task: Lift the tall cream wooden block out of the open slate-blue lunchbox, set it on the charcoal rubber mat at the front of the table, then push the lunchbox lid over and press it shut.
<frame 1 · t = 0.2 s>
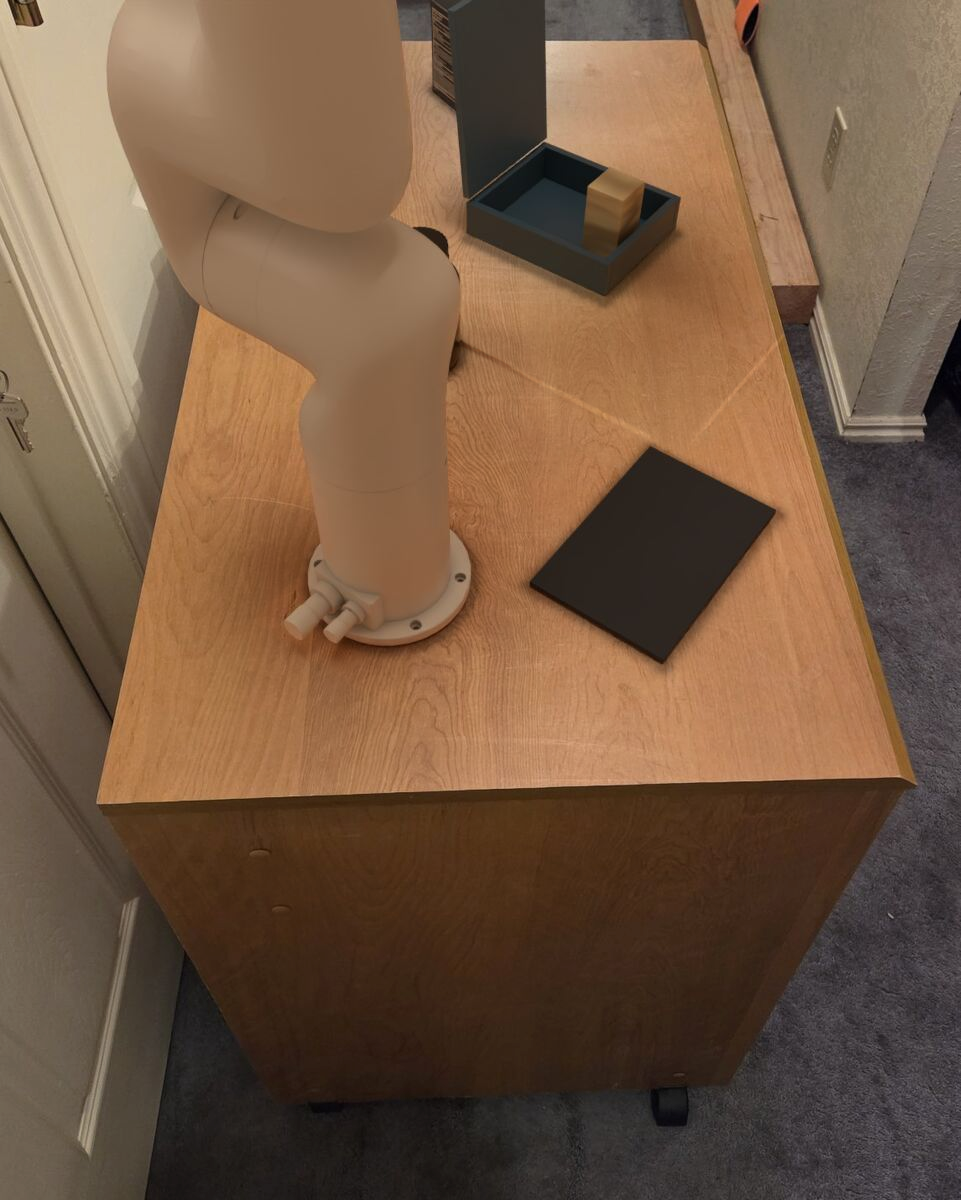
lunchbox lid: (502, 80, 99), point 13 cm above the table, hinge at 95.0°
lunchbox: (570, 237, 107), on the table
mat: (655, 549, 83), on the table
supplement bottle: (424, 356, 96), on the table
small box: (477, 103, 122), on the table
block: (608, 246, 105), point 1 cm above the table, touching lunchbox
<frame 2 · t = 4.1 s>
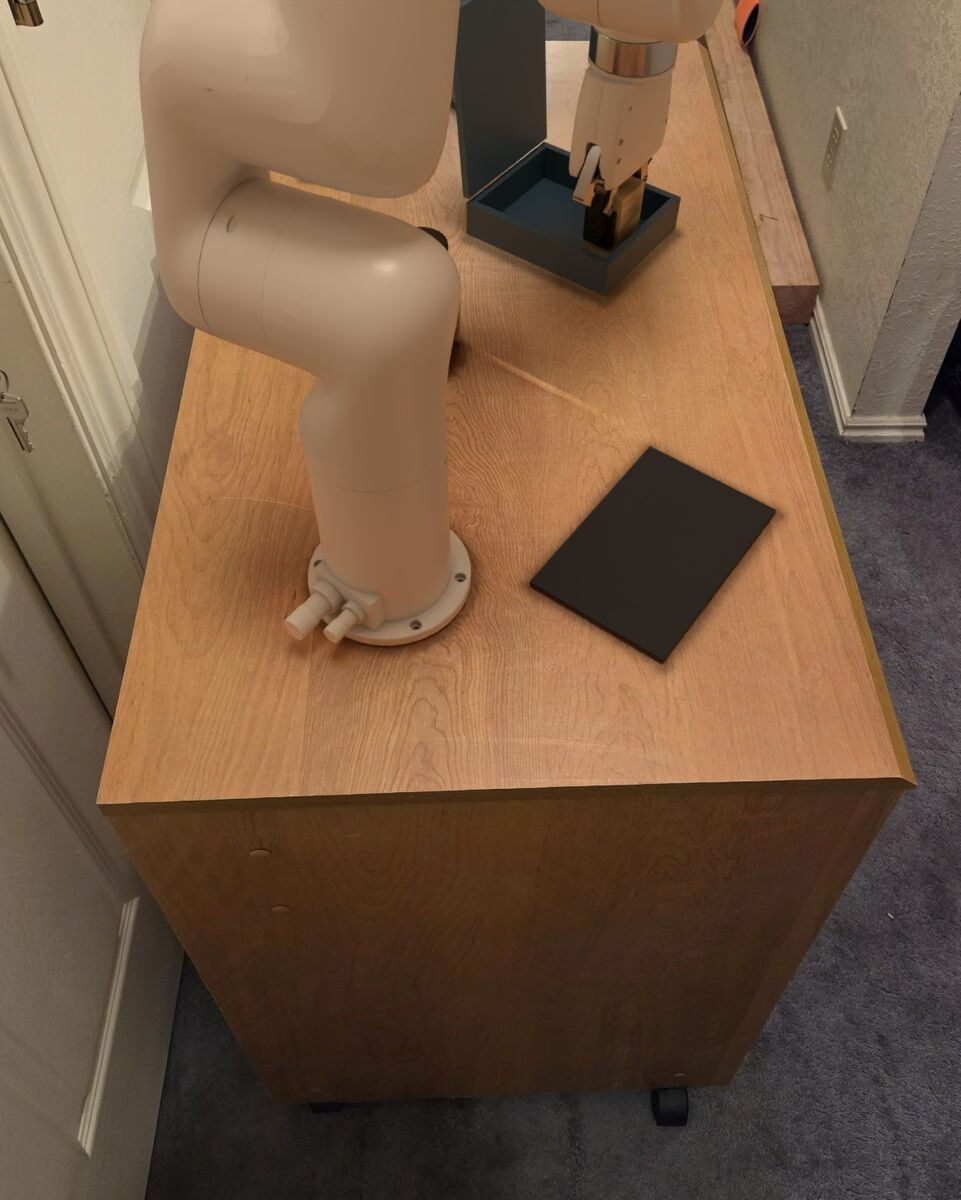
hand: (610, 230, 103), 3 cm above the table, tool pointing down, fingers closed on block, 4 cm apart
block: (608, 246, 105), point 1 cm above the table, touching gripper, lunchbox
everything else where it was.
when the fingers open (2 cm above the table, at t = 12.0 s): block stays where it is, resting on mat.
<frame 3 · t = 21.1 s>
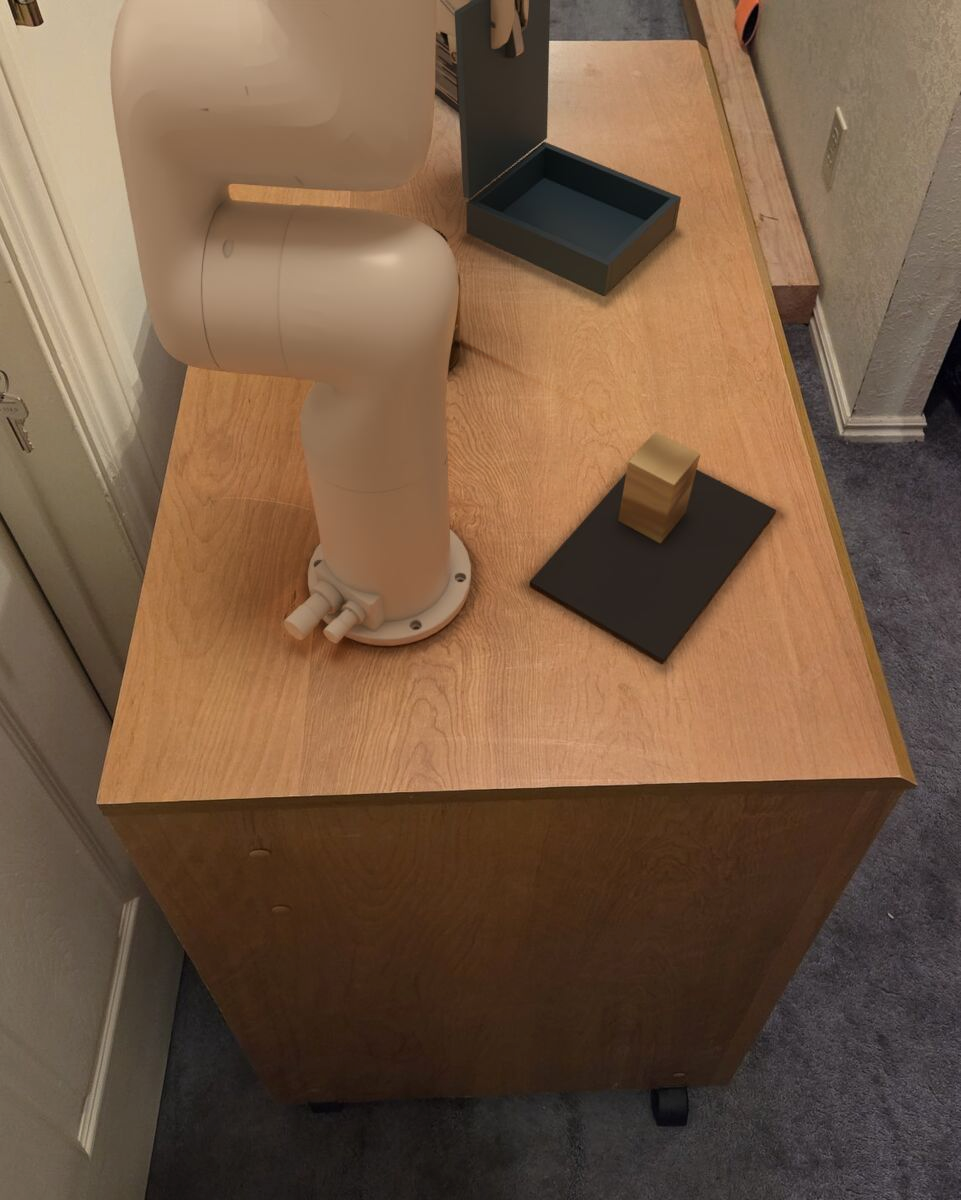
hand: (473, 101, 103), 10 cm above the table, tool pointing down, fingers closed
lunchbox lid: (505, 81, 99), point 13 cm above the table, hinge at 92.4°, touching gripper
block: (651, 517, 84), point 1 cm above the table, touching mat
everything else where it was.
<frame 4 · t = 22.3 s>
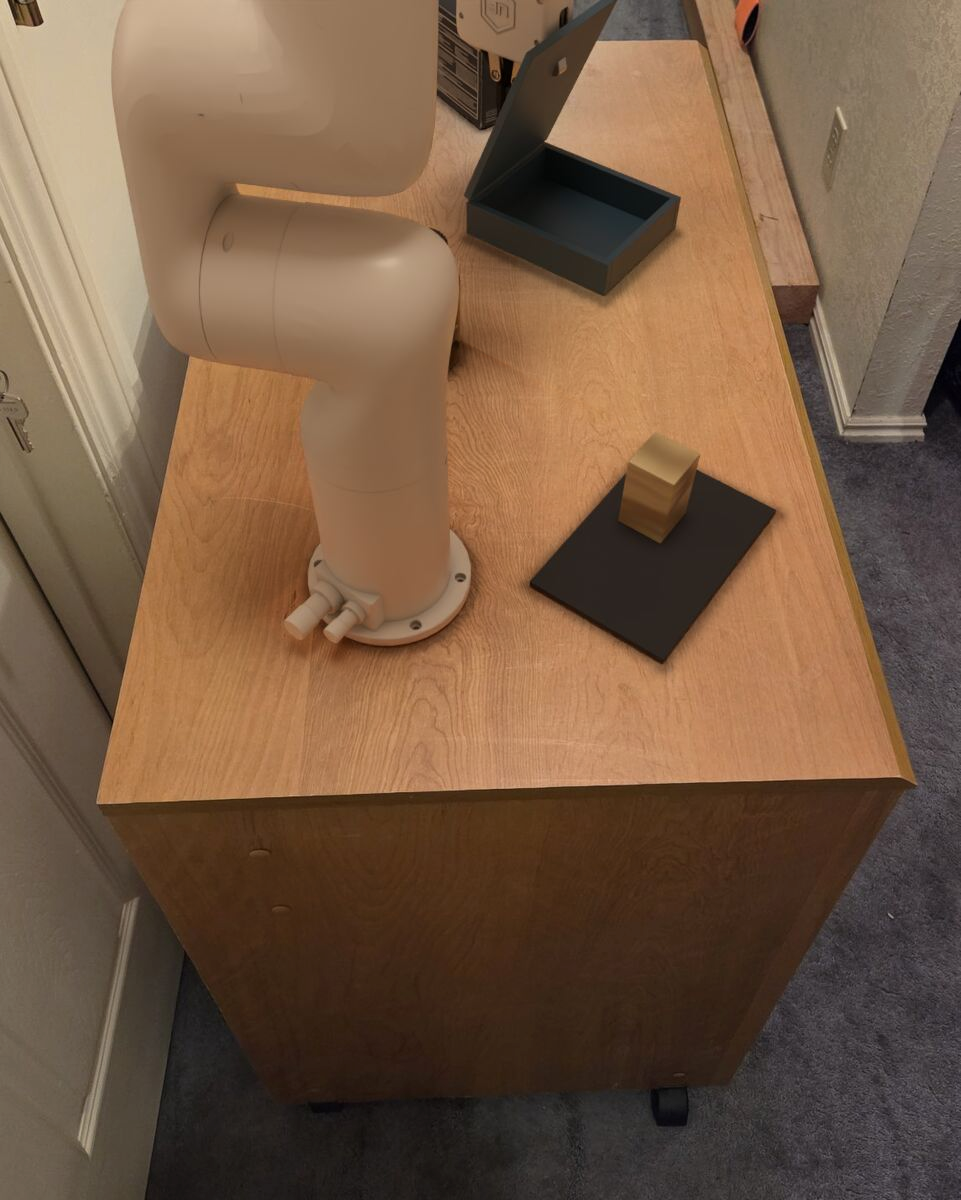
hand: (512, 119, 101), 10 cm above the table, tool pointing down, fingers closed
lunchbox lid: (537, 100, 98), point 13 cm above the table, hinge at 67.1°
everything else where it was.
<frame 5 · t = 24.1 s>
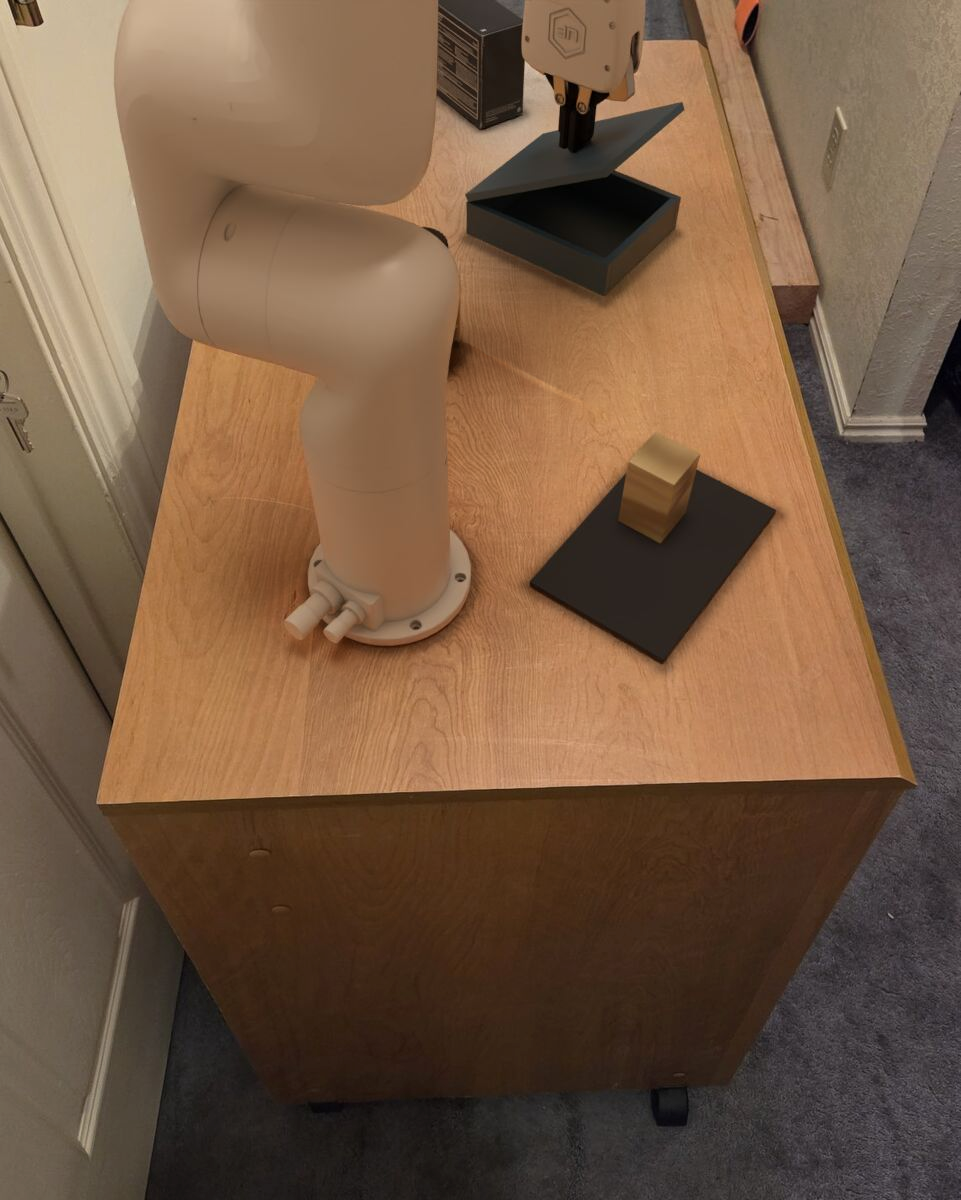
hand: (574, 143, 99), 10 cm above the table, tool pointing down, fingers closed
lunchbox lid: (571, 153, 100), point 9 cm above the table, hinge at 29.1°
everything else where it was.
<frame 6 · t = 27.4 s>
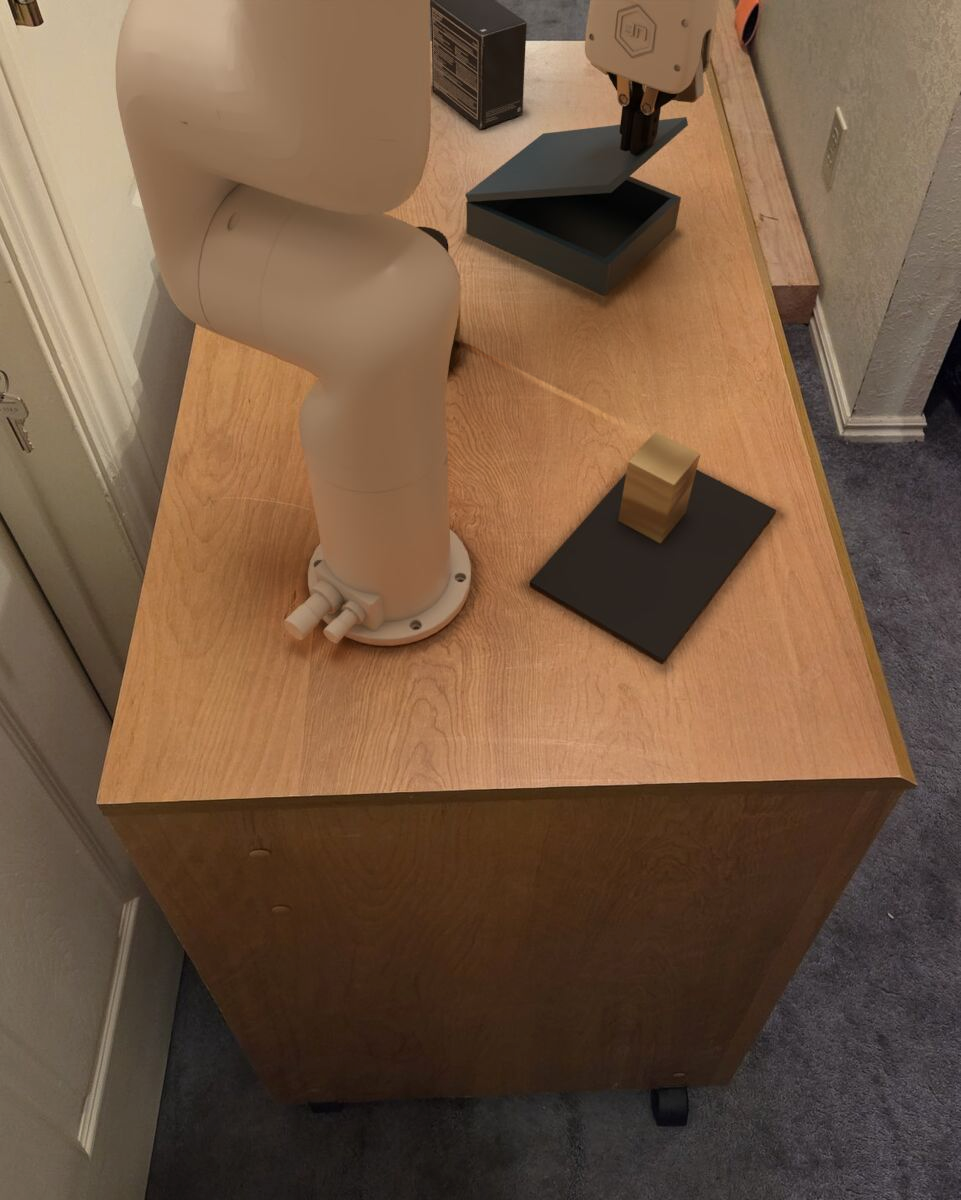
hand: (636, 145, 95), 12 cm above the table, tool pointing down, fingers closed
lunchbox lid: (574, 160, 100), point 8 cm above the table, hinge at 24.4°, touching gripper
everything else where it was.
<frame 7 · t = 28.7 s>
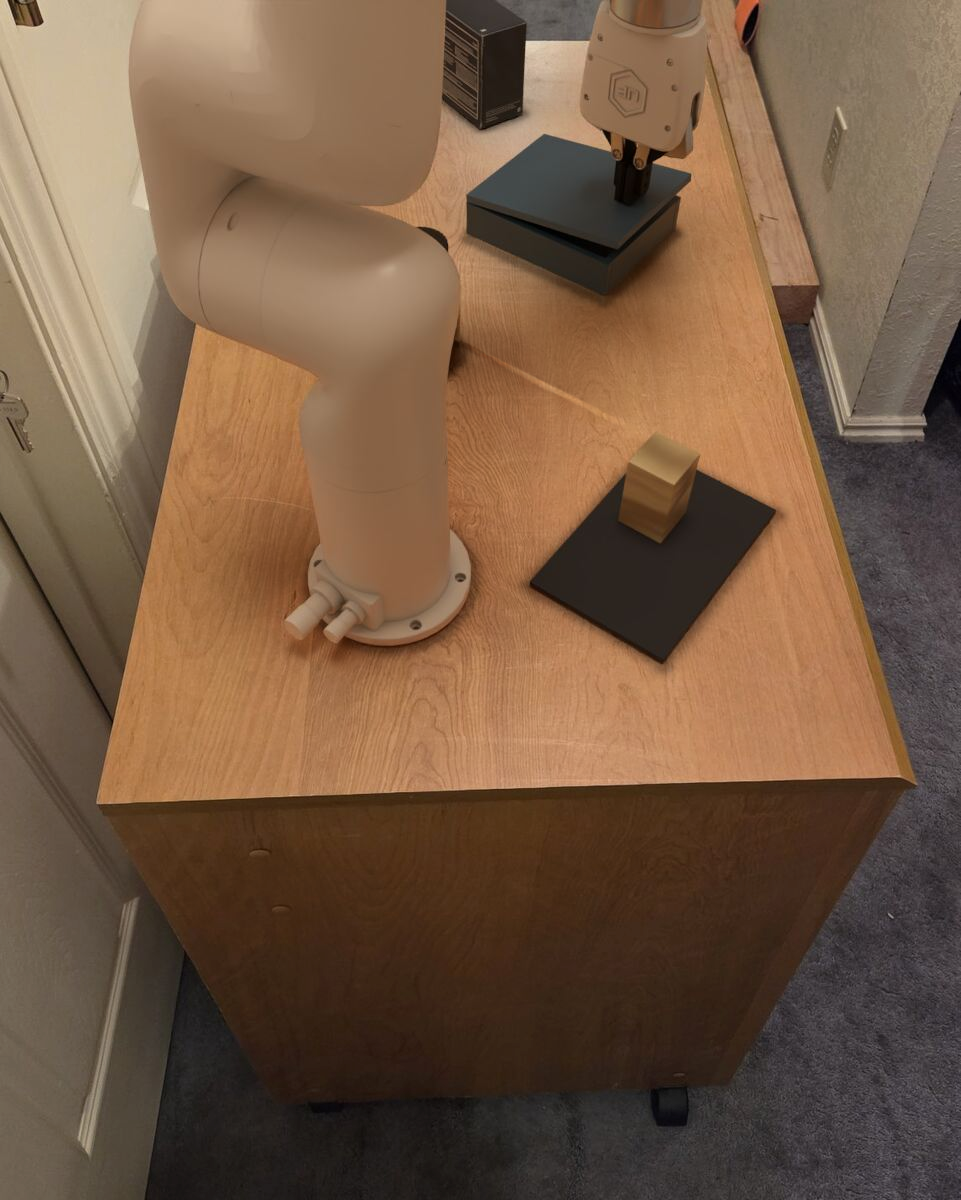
hand: (629, 196, 99), 7 cm above the table, tool pointing down, fingers closed
lunchbox lid: (578, 187, 102), point 6 cm above the table, hinge at 6.5°, touching gripper
everything else where it was.
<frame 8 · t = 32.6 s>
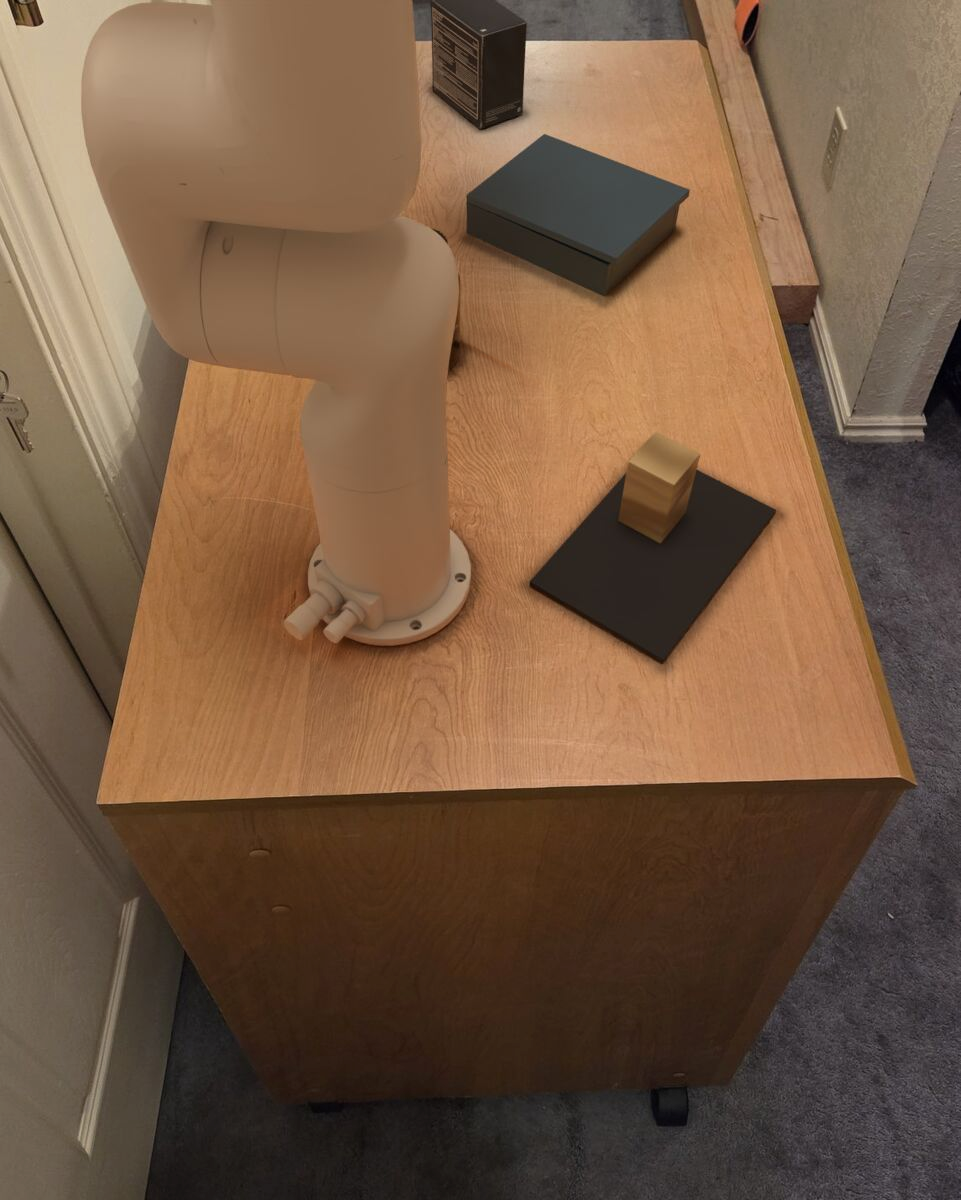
lunchbox lid: (578, 195, 103), point 5 cm above the table, hinge at 1.0°
everything else where it was.
at the end: block inside the target area on the mat (2.8 cm from its centre), point 0.6 cm above the mat's base; lunchbox lid at +1° (first picture: +95°) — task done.
